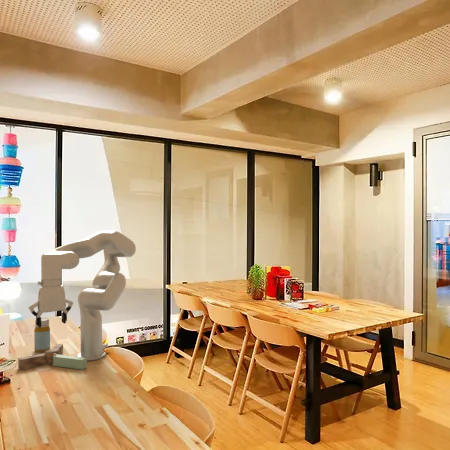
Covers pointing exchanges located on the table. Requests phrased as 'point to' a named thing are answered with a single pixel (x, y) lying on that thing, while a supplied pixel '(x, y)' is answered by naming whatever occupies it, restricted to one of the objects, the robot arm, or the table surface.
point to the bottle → (42, 336)
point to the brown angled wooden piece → (40, 358)
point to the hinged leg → (69, 361)
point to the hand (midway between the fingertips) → (51, 324)
